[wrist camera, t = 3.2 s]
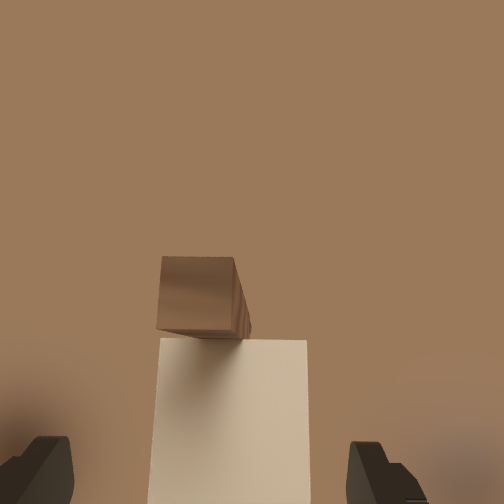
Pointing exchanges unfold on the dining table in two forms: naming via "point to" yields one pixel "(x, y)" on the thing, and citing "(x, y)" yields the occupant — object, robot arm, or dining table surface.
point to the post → (231, 423)
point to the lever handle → (202, 298)
